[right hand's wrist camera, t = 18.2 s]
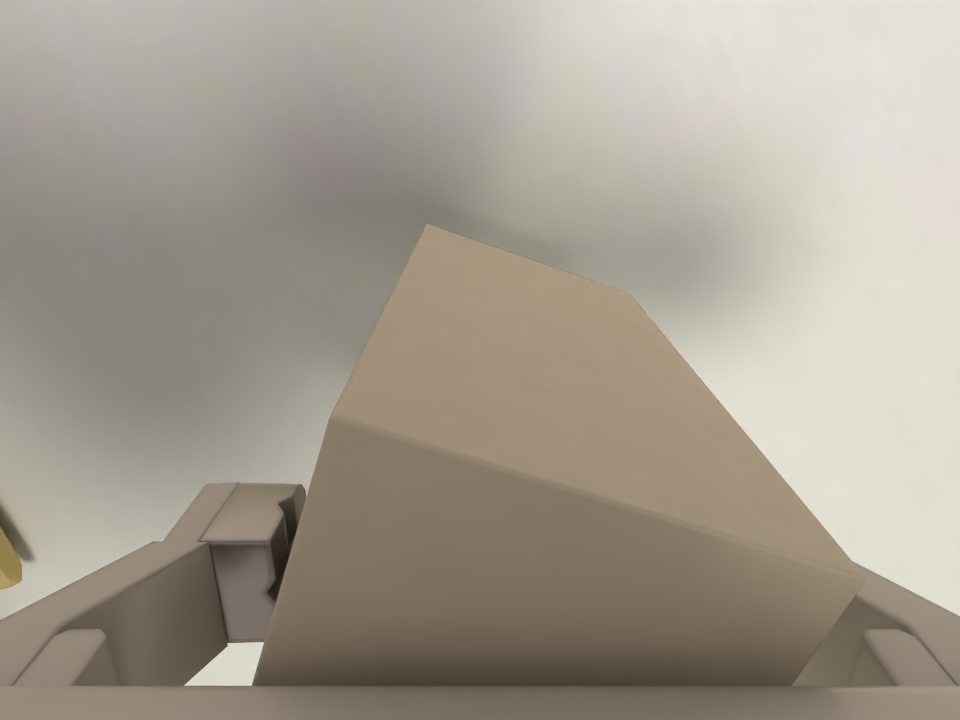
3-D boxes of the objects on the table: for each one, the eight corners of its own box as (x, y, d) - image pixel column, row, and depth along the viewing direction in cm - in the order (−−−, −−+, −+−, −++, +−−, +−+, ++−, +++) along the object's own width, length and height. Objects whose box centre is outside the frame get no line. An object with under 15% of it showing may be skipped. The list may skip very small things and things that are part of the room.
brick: (631, 294, 15) (870, 579, 6) (528, 523, 17) (583, 987, 8) (426, 223, 14) (329, 414, 5) (348, 470, 16) (187, 906, 7)
